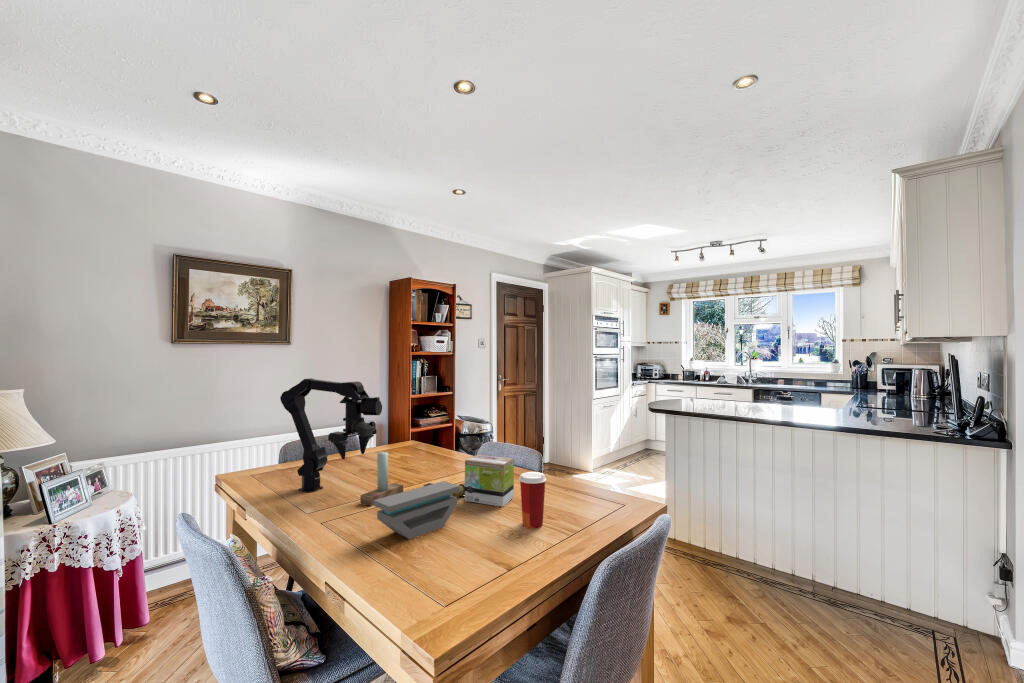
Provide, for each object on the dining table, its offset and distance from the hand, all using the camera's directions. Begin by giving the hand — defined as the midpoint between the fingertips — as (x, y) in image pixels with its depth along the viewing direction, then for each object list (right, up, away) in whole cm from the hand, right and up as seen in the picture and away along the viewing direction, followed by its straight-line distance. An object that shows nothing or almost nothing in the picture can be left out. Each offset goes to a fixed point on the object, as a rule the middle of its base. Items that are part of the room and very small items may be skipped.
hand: (353, 456), depth 168 cm
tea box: (+52, -13, -11) cm, 55 cm away
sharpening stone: (+33, -12, -37) cm, 51 cm away
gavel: (+34, -14, -2) cm, 36 cm away
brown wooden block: (+14, -13, -9) cm, 21 cm away
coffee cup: (+66, -12, -33) cm, 75 cm away
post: (+14, -10, -9) cm, 19 cm away
